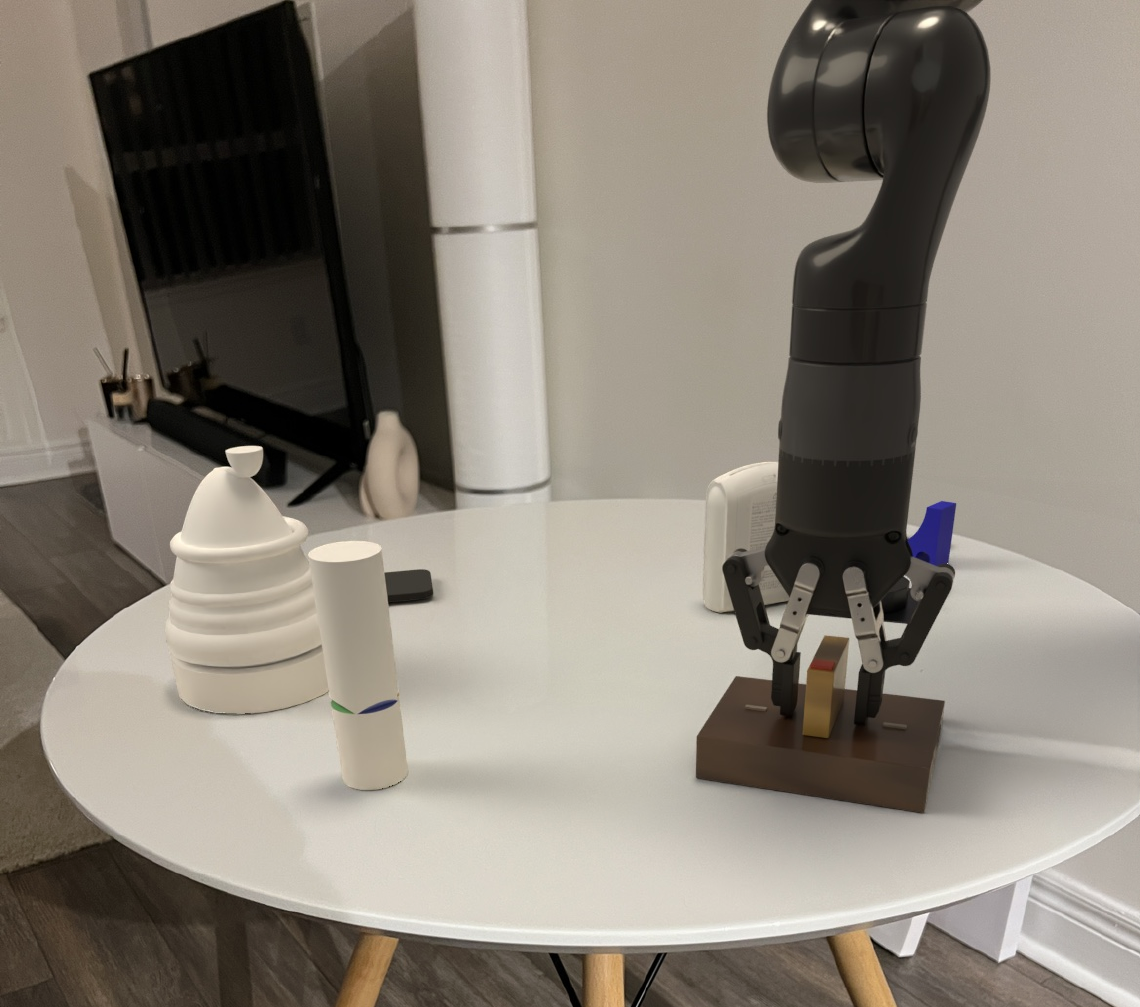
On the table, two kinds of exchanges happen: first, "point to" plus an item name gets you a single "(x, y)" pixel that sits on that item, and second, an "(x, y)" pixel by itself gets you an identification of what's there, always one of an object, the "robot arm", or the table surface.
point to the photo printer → (739, 529)
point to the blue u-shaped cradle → (934, 534)
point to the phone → (408, 585)
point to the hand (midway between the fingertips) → (824, 714)
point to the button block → (895, 604)
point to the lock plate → (823, 747)
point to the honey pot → (242, 599)
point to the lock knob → (825, 686)
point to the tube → (359, 662)
